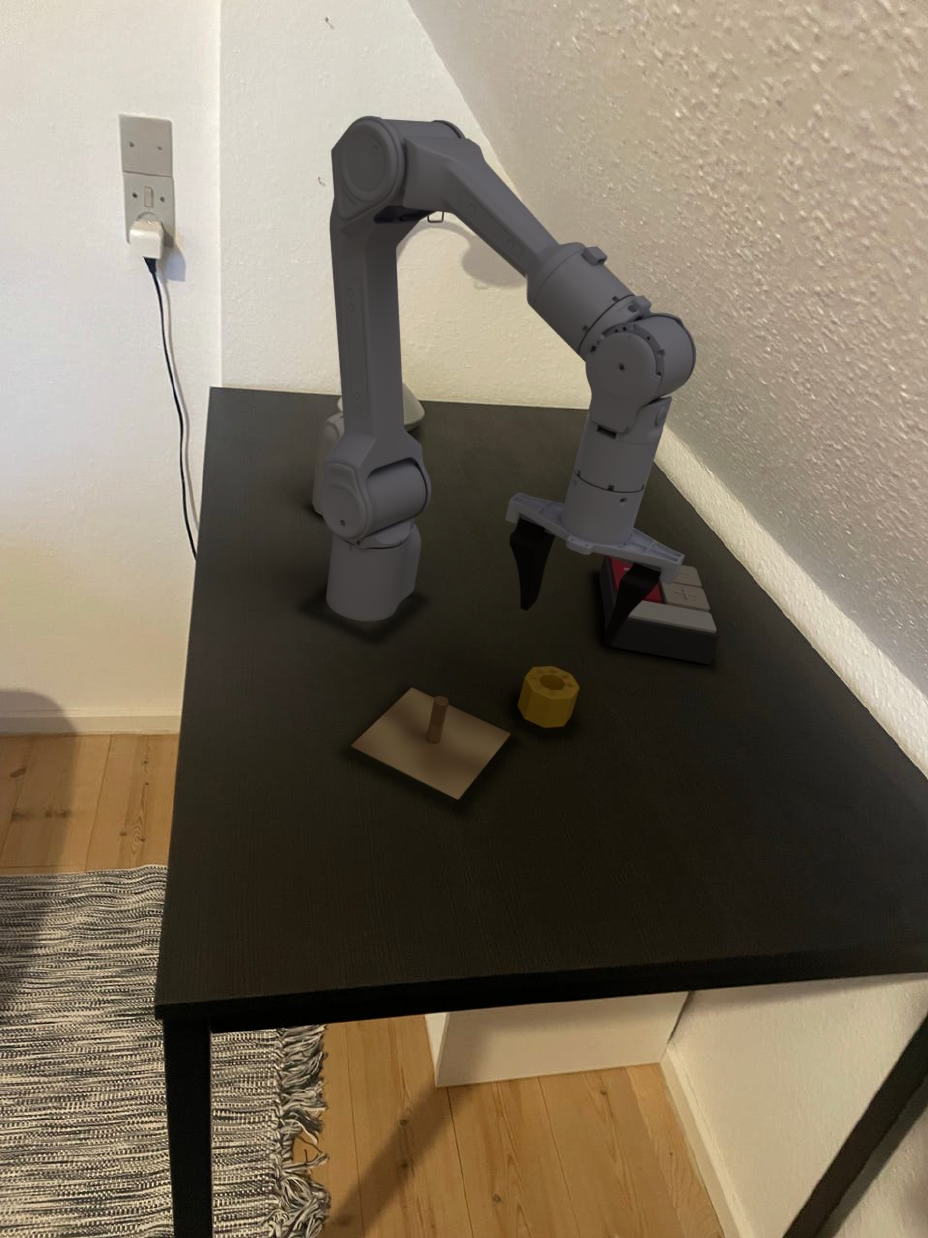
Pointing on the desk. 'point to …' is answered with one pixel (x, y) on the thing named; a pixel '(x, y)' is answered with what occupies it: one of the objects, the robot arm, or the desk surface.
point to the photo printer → (325, 452)
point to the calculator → (664, 616)
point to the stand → (432, 742)
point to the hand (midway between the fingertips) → (568, 621)
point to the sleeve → (548, 696)
